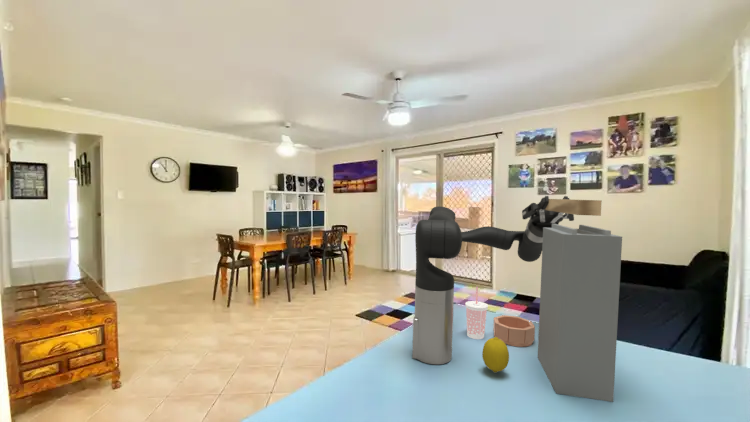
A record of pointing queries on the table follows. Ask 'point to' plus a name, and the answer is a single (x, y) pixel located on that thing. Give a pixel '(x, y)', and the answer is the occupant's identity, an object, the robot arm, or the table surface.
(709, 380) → the table surface
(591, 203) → the slat
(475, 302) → the beverage cup
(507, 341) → the bowl
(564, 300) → the shelf block
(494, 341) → the lemon
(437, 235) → the robot arm
